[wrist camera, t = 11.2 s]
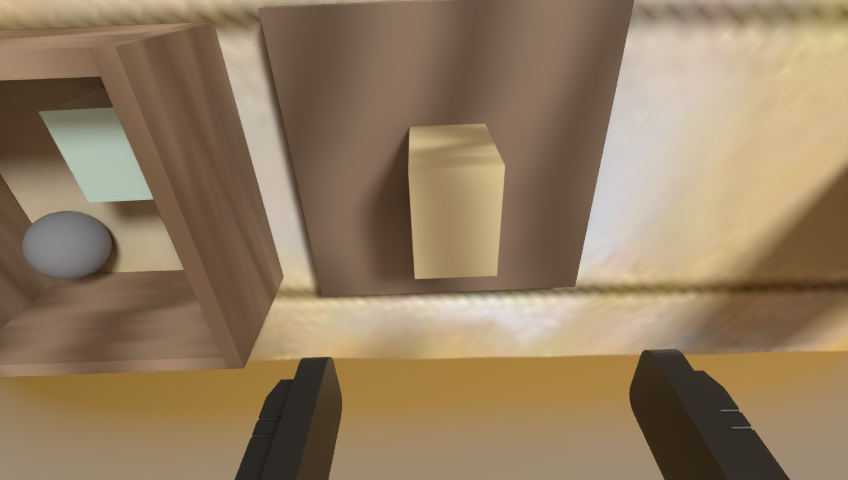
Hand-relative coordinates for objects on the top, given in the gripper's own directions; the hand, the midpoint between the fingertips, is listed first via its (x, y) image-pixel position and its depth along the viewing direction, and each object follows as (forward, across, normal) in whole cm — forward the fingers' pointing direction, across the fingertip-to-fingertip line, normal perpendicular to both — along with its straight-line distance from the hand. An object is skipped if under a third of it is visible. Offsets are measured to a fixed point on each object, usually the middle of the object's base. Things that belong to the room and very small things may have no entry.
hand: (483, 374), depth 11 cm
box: (+13, +18, -1) cm, 22 cm away
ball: (+11, +21, +2) cm, 23 cm away
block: (+13, +14, -3) cm, 20 cm away
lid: (+13, 0, -1) cm, 13 cm away
